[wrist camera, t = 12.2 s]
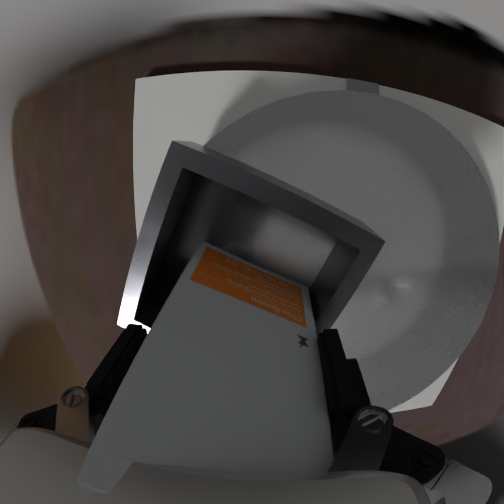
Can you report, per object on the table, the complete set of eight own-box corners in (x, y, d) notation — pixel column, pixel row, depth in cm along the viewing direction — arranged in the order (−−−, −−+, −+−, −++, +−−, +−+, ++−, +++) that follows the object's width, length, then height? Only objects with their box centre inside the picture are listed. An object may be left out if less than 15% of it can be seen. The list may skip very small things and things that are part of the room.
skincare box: (310, 283, 15) (350, 535, 4) (273, 339, 16) (267, 550, 5) (199, 234, 14) (69, 482, 3) (174, 300, 16) (84, 505, 5)
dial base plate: (504, 131, 13) (514, 131, 12) (428, 398, 22) (432, 406, 21) (142, 82, 14) (134, 78, 13) (170, 399, 23) (166, 409, 22)
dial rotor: (524, 220, 14) (562, 239, 10) (369, 431, 22) (378, 467, 17) (247, 29, 12) (239, -10, 8) (124, 353, 19) (100, 392, 15)
